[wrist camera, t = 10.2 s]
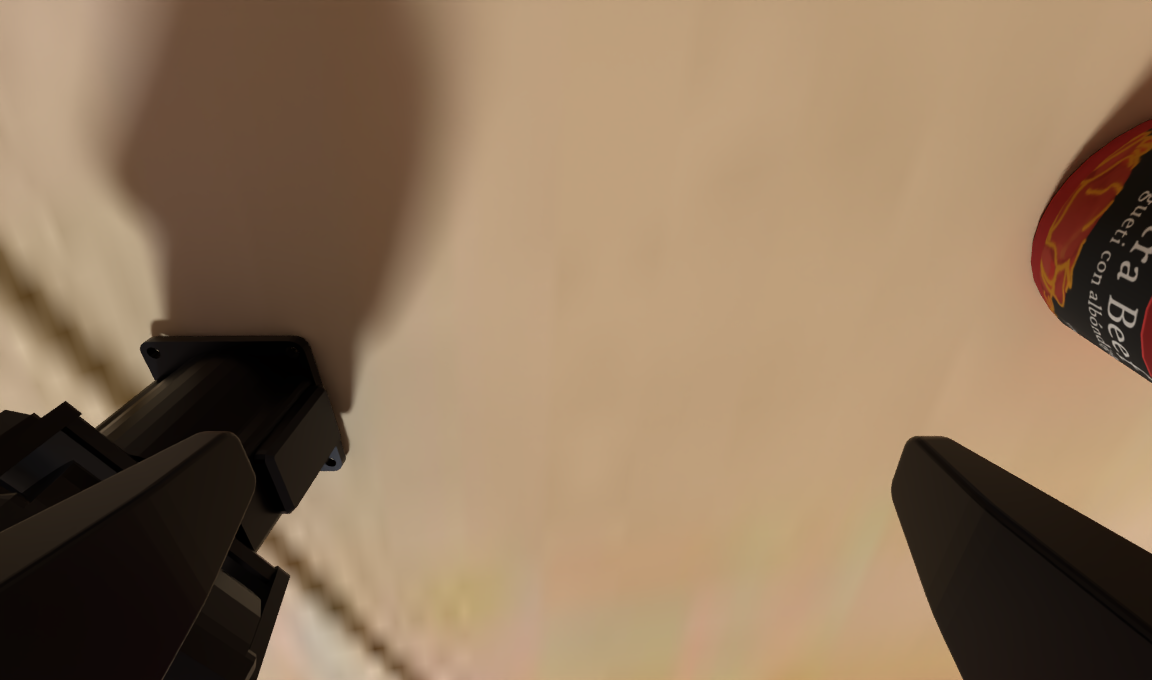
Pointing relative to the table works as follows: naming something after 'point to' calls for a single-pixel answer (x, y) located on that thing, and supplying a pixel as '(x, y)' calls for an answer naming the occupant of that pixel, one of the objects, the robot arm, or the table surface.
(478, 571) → the table surface
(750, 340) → the table surface
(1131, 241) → the canned food
